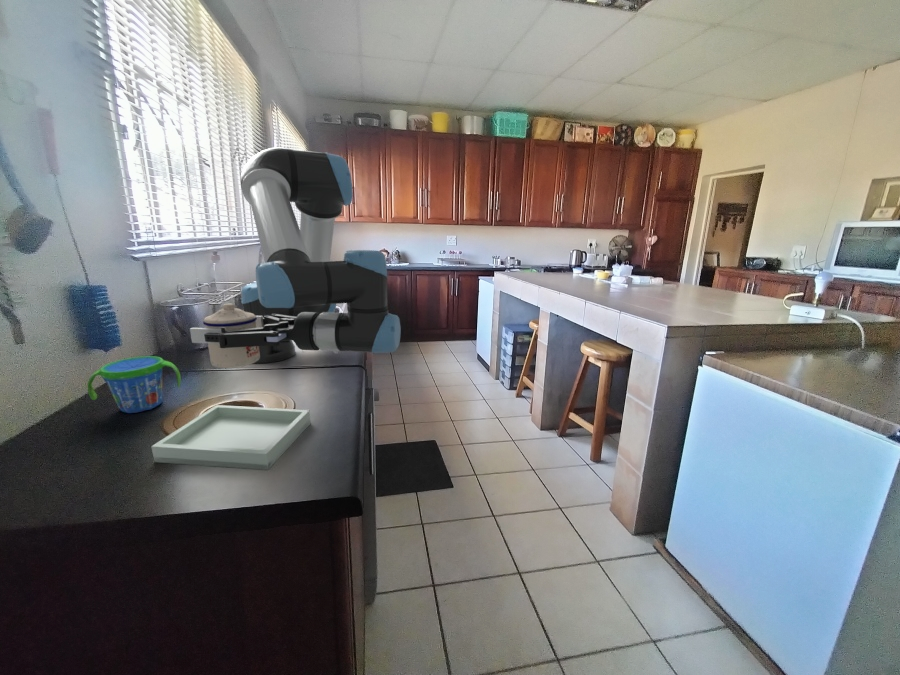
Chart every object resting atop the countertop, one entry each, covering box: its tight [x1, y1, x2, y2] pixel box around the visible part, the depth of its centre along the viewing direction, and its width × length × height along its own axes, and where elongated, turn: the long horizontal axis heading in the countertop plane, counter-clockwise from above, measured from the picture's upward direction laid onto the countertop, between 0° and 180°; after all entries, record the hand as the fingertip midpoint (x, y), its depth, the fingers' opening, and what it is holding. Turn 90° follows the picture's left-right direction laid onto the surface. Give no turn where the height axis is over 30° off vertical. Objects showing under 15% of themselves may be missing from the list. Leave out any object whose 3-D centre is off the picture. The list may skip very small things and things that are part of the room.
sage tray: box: [150, 404, 311, 471], centre depth 70 cm, size 16×20×3 cm
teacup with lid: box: [202, 302, 260, 369], centre depth 75 cm, size 12×9×12 cm
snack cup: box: [87, 355, 182, 414], centre depth 82 cm, size 16×10×10 cm
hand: (214, 327), depth 75 cm, fingers closed on teacup with lid, 11 cm apart
